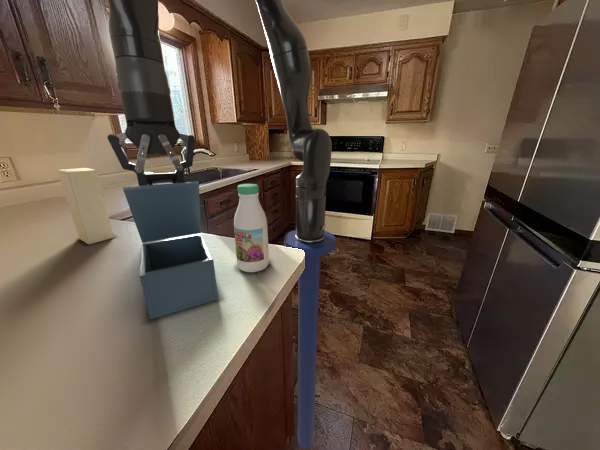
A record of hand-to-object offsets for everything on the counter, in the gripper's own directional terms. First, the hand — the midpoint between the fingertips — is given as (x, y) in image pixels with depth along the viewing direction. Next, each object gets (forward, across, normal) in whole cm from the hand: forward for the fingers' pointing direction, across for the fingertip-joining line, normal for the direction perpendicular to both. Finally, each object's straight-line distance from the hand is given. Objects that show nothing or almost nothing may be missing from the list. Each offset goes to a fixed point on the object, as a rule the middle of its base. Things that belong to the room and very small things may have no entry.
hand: (163, 190), depth 47 cm
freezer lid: (+5, 0, +1) cm, 5 cm away
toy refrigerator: (+20, +20, -39) cm, 48 cm away
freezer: (+20, 0, +4) cm, 21 cm away
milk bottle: (+20, -16, +1) cm, 26 cm away
